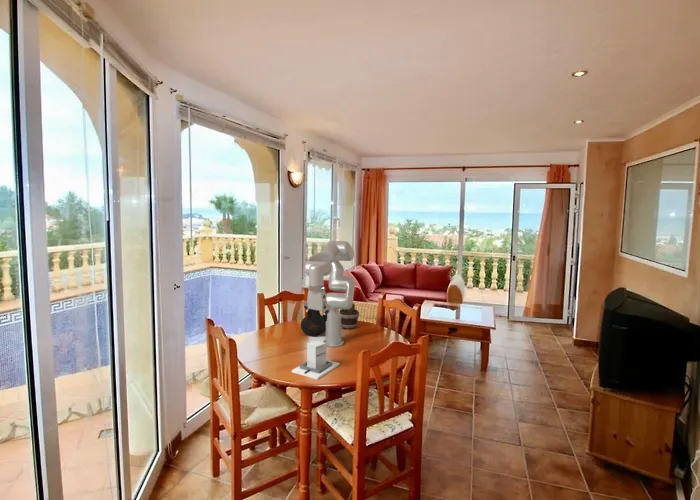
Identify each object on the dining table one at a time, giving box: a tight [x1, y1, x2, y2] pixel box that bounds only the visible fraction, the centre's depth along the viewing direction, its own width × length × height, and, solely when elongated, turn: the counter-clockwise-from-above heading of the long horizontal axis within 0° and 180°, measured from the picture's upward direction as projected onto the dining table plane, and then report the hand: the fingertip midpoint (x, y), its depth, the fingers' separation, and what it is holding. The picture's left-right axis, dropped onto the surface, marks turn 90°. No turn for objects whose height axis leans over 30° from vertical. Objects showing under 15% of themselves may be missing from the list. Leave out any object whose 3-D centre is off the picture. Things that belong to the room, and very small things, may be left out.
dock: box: [291, 359, 340, 380], centre depth 196 cm, size 20×16×2 cm
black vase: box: [300, 309, 326, 337], centre depth 248 cm, size 18×18×28 cm
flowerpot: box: [339, 301, 360, 330], centre depth 263 cm, size 14×15×20 cm
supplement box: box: [306, 339, 327, 369], centre depth 196 cm, size 7×7×13 cm
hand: (317, 319), depth 198 cm, fingers open, 9 cm apart
